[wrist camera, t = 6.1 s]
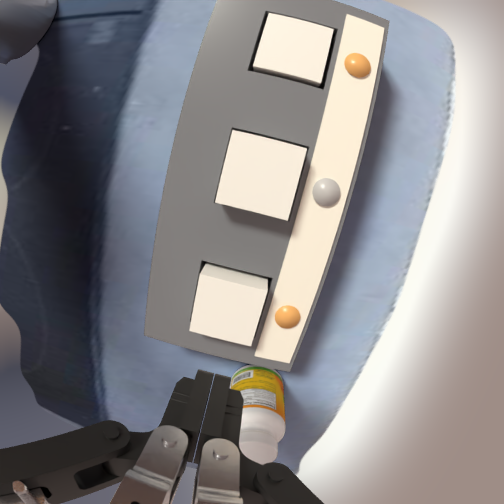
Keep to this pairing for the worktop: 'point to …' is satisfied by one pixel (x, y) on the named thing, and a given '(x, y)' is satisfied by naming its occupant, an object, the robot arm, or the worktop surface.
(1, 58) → the robot arm
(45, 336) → the worktop surface
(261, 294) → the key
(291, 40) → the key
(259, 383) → the supplement bottle
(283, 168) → the middle key
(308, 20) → the button board
